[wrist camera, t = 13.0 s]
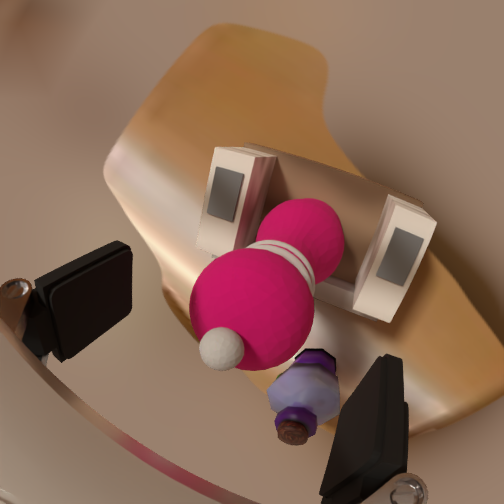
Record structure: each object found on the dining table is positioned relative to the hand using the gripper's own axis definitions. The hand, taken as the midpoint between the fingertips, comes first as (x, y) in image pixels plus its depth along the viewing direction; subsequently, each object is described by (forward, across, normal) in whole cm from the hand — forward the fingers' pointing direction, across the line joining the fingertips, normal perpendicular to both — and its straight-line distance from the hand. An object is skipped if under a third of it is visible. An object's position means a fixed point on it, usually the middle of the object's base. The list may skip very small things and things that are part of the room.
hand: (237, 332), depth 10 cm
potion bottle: (+21, -6, +19) cm, 29 cm away
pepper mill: (+20, +1, +2) cm, 20 cm away
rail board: (+21, 0, +2) cm, 22 cm away
